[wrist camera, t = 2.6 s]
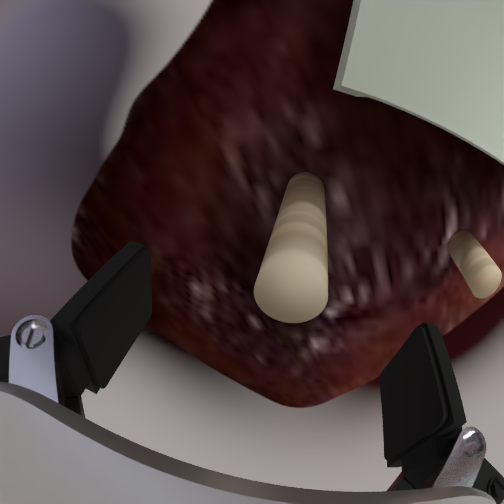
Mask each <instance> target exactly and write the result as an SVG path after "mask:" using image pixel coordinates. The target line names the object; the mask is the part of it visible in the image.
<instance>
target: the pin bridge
mask: <svg viewBox="0 0 504 504" xmlns="http://www.w3.org/2000/svg"><path fill="white" fill-rule="evenodd" d="M333 89H334V90H337V91H340V92H343V93H347V94H350V95H353V96H356V97H369V98H372V99H375V100H377V101H380V102H383V103H385V104H388V105H390V106H393V107H395V108H398V109H400V110H403V111H405V112H407V113H410V114H412V115H414V116H416V117H419V118H421V119H423V120H425V121H427V122H429V123H431V124H433V125H435V126H438V127H440V128H442V129H443V130H445V131H447V132H449V133H451V134H453V135H455V136H457V137H459V138H460V139H462V140H464V141H466V142H468V143H469V144H471V145H473V146H474V147H476V148H478V149H479V150H481V151H483V152H484V153H486V154H488V155H489V156H491V157H492V158H494V159H495V160H497V161H498V162H500V163H501V164H503V165H504V0H353V5H352V10H351V15H350V19H349V24H348V28H347V33H346V37H345V41H344V46H343V50H342V54H341V58H340V63H339V67H338V71H337V75H336V79H335V83H334V87H333Z"/></svg>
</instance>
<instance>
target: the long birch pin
mask: <svg viewBox="0 0 504 504" xmlns="http://www.w3.org/2000/svg"><path fill="white" fill-rule="evenodd" d="M254 297H255V300H256V303H257V305H258V306H259V308H260V309H261V310H262V311H263V312H264V313H265V314H267V315H268V316H270V317H272V318H274V319H276V320H279V321H282V322H287V323H300V322H305V321H308V320H311V319H313V318H314V317H316V316H317V315H319V314H320V313H321V312H322V311H323V309H324V308H325V306H326V304H327V300H328V258H327V228H326V208H325V192H324V185H323V183H322V181H321V180H320V178H319V177H317V176H316V175H314V174H312V173H309V172H301V173H298V174H296V175H294V176H293V177H292V178H291V179H290V180H289V182H288V185H287V188H286V191H285V194H284V198H283V201H282V204H281V207H280V210H279V213H278V216H277V219H276V222H275V225H274V228H273V232H272V235H271V238H270V241H269V244H268V247H267V250H266V253H265V256H264V259H263V262H262V265H261V268H260V271H259V274H258V277H257V280H256V283H255V286H254Z"/></svg>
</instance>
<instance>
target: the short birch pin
mask: <svg viewBox="0 0 504 504" xmlns="http://www.w3.org/2000/svg"><path fill="white" fill-rule="evenodd" d="M448 252H449V254H450V255H451V257H452V259H453V260H454V262H455V263H456V265H457V267H458V268H459V270H460V272H461V273H462V275H463V277H464V279H465V280H466V282H467V284H468V286H469V287H470V289H471V291H472V293H473V294H474V296H475V297H477V298H485V297H488V296H490V295H491V294H492V293H494V292H495V291H496V289H497V288H498V286H499V285H500V282H501V278H502V274H501V271H500V269H499V268H498V267H497V265H496V264H495V263H494V261H493V260H492V259H491V257H490V256H489V255H488V253H487V252H486V251H485V250H484V248H483V247H482V246H481V244H480V243H479V242H478V241H477V240H476V238H475V237H474V236H473V235H472V234H471V232H469V231H467V230H461V231H458V232H456V233H455V234H454V235H453V236H452V237H451V239H450V241H449V243H448Z"/></svg>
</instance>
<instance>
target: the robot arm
mask: <svg viewBox="0 0 504 504" xmlns="http://www.w3.org/2000/svg"><path fill="white" fill-rule="evenodd" d="M151 314H152V288H151V253H150V252H149V251H148V250H147V247H146V246H145V245H142V244H139V243H135V242H132V241H130V242H129V243H127V244H126V245H125V246H124V247H123V248H122V249H121V250H120V251H119V252H118V253H116V254H115V255H114V256H113V257H112V258H111V259H110V260H109V261H108V262H107V263H106V264H105V265H104V266H103V267H102V268H101V269H100V270H99V271H98V272H97V273H96V274H95V275H94V276H93V277H92V278H91V279H90V280H89V281H88V282H87V283H86V284H85V285H84V286H83V287H82V288H81V289H80V290H79V291H78V292H77V293H76V294H75V295H74V296H73V297H72V298H71V299H70V300H69V301H68V302H67V303H66V304H65V305H64V306H63V307H62V308H61V310H60V311H59V312H58V313H57V314H56V315H55V316H54V318H53V319H51V321H49V320H48V319H46V318H45V317H42V316H39V315H32V316H28V317H25V318H23V319H22V320H20V321H19V322H18V323H17V324H16V325H15V327H14V329H13V331H12V334H11V335H9V336H4V337H0V504H504V478H503V476H502V475H501V474H500V473H499V472H498V471H497V470H496V469H495V468H494V467H493V466H492V465H491V464H490V463H489V462H488V461H487V460H486V459H485V458H484V457H485V453H486V442H485V438H484V436H483V435H482V433H481V432H480V431H479V430H478V429H477V428H475V427H466V428H465V429H463V430H462V425H463V424H465V423H466V417H465V413H464V409H463V405H462V400H461V397H460V393H459V389H458V385H457V382H456V378H455V375H454V372H453V368H452V365H451V362H450V359H449V356H448V353H447V350H446V347H445V344H444V341H443V338H442V335H441V333H440V330H439V328H438V326H436V325H432V324H428V323H422V324H421V325H420V326H417V327H416V328H415V329H414V331H413V332H412V333H411V335H410V336H409V337H408V339H407V340H406V342H405V343H404V344H403V346H402V347H401V348H400V349H399V351H398V352H397V353H396V355H395V356H394V357H393V358H392V360H391V361H390V362H389V363H388V365H387V366H386V367H385V368H384V370H383V371H382V372H381V374H380V379H379V382H380V392H381V403H382V415H383V416H382V417H383V435H384V457H385V459H386V460H387V467H401V466H402V472H401V473H400V475H399V476H398V477H397V479H396V480H395V481H394V482H393V484H392V485H391V486H390V487H389V489H388V490H387V491H385V492H341V491H323V490H312V489H303V488H294V487H286V486H280V485H274V484H268V483H263V482H257V481H252V480H247V479H243V478H239V477H234V476H230V475H227V474H223V473H219V472H215V471H212V470H208V469H204V468H201V467H198V466H195V465H192V464H189V463H186V462H182V461H180V460H177V459H174V458H171V457H169V456H166V455H163V454H161V453H158V452H156V451H153V450H151V449H148V448H146V447H143V446H141V445H139V444H137V443H134V442H132V441H130V440H128V439H126V438H123V437H121V436H119V435H117V434H115V433H113V432H111V431H109V430H106V429H105V428H103V427H101V426H99V425H97V424H95V423H93V422H91V421H89V420H87V419H86V418H85V414H84V409H83V404H82V398H81V395H82V393H83V392H84V390H85V389H88V390H90V391H92V392H94V393H95V394H97V392H98V391H99V389H100V388H102V389H103V388H105V387H106V386H107V384H108V382H109V381H110V379H111V378H112V376H113V374H114V373H115V371H116V370H117V368H118V366H119V365H120V363H121V362H122V360H123V359H124V357H125V356H126V354H127V352H128V350H129V349H130V348H131V346H132V345H133V343H134V342H135V340H136V338H137V337H138V336H139V334H140V332H141V331H142V329H143V328H144V326H145V325H146V323H147V322H148V320H149V319H150V317H151Z"/></svg>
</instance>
